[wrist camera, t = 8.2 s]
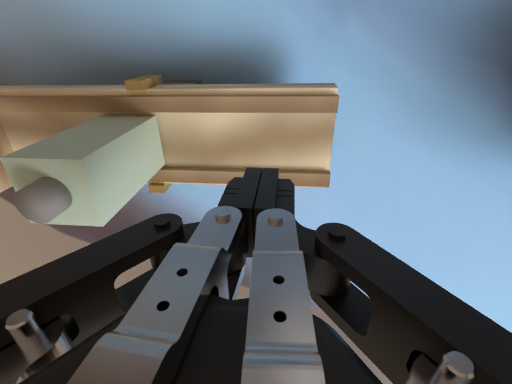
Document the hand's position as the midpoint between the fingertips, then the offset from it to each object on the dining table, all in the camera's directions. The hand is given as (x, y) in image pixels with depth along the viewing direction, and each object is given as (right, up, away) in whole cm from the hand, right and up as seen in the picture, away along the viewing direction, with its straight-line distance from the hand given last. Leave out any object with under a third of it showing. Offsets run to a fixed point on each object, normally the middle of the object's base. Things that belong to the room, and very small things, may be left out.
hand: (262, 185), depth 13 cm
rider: (-9, +3, +7) cm, 12 cm away
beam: (-7, +6, +13) cm, 16 cm away
